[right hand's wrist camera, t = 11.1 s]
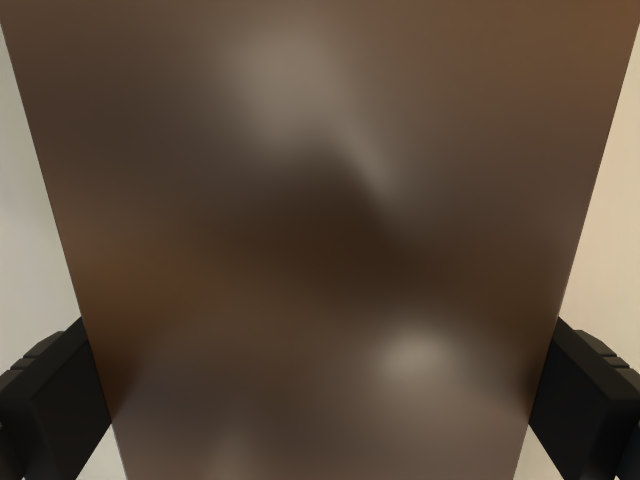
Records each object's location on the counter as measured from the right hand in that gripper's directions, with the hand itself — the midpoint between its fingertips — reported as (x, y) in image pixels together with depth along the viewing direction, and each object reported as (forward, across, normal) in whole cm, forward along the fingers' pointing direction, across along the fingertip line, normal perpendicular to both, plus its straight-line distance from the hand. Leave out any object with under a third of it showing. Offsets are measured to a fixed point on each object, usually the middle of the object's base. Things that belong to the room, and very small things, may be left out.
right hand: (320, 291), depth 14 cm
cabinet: (+6, 0, -6) cm, 8 cm away
